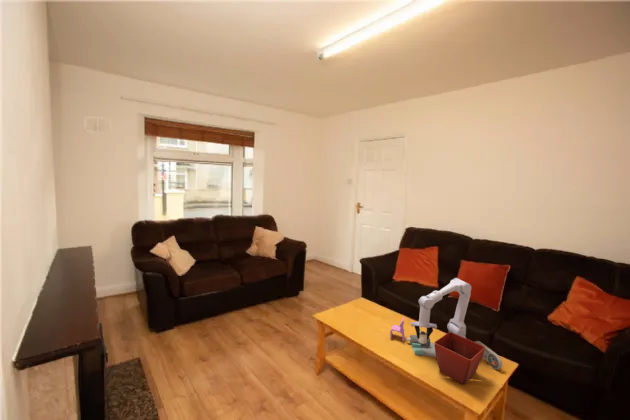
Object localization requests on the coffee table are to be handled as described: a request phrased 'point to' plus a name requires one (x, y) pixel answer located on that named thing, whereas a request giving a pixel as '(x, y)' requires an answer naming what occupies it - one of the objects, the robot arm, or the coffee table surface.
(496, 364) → the game controller
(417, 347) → the motor assembly
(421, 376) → the coffee table surface
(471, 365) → the plant pot
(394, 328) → the toy chair
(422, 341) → the cream canister
